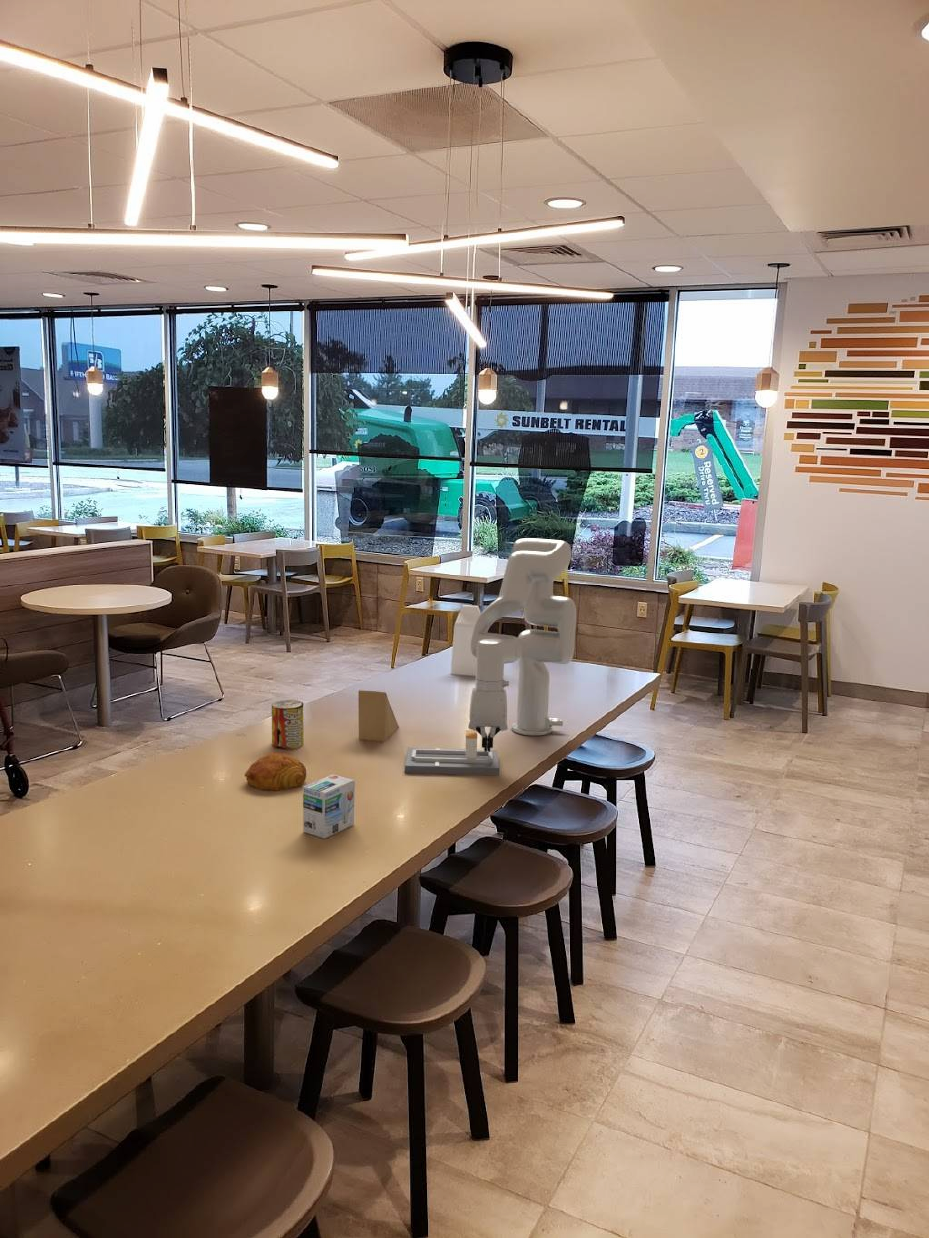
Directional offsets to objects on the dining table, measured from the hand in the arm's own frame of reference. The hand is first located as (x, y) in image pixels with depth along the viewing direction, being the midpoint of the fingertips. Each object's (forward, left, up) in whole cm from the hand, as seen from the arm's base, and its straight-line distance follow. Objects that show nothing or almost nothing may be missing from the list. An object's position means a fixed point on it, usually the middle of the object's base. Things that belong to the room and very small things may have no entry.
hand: (487, 750), depth 254 cm
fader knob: (+4, 0, -2) cm, 5 cm away
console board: (+9, 0, -4) cm, 10 cm away
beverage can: (+57, -14, -5) cm, 59 cm away
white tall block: (+4, -109, -5) cm, 109 cm away
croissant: (+55, +16, -5) cm, 57 cm away
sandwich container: (+32, -28, -5) cm, 42 cm away
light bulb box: (+37, +45, -5) cm, 58 cm away
